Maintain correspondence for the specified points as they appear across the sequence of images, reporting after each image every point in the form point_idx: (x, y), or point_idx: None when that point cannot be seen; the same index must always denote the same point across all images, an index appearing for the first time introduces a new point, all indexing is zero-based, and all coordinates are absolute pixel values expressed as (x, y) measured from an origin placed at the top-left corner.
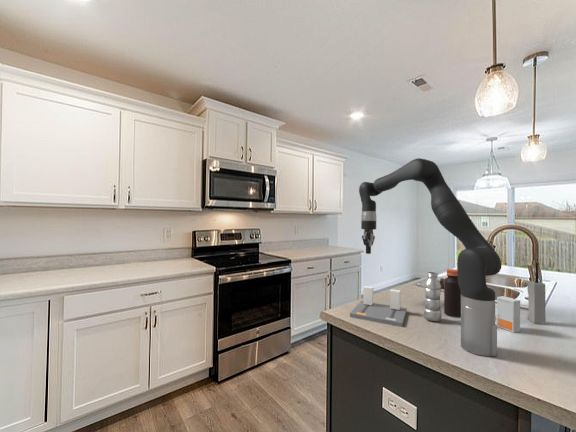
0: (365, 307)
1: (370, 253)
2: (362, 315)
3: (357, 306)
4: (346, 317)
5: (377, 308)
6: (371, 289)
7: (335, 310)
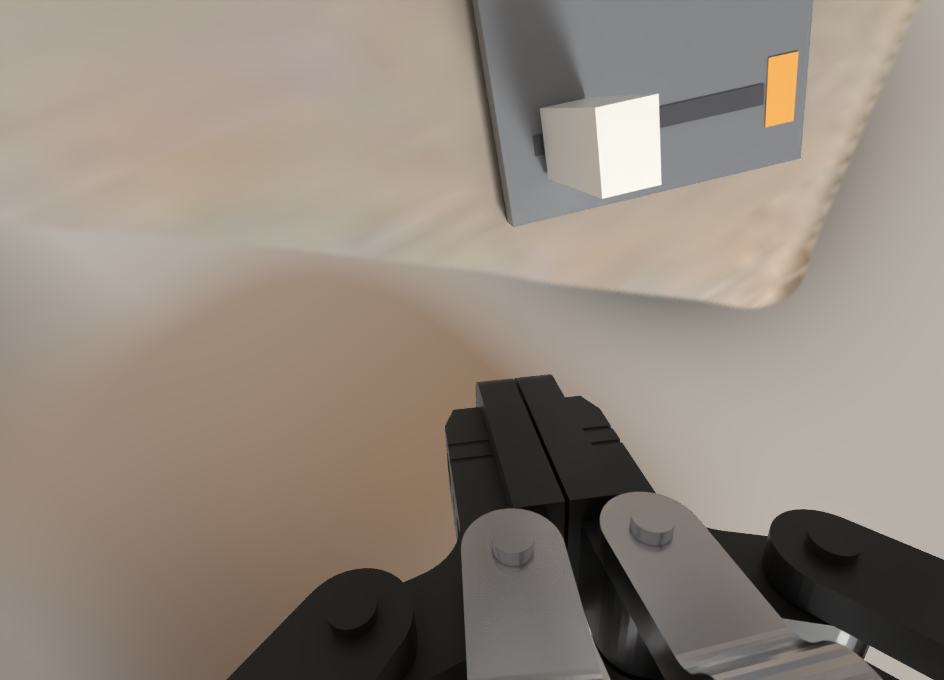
0: None
1: (487, 381)
2: (804, 69)
3: None
4: (801, 167)
5: (613, 36)
6: (652, 100)
7: (722, 279)
